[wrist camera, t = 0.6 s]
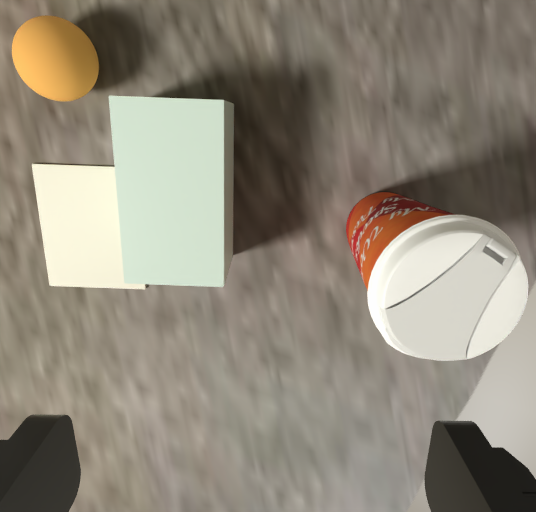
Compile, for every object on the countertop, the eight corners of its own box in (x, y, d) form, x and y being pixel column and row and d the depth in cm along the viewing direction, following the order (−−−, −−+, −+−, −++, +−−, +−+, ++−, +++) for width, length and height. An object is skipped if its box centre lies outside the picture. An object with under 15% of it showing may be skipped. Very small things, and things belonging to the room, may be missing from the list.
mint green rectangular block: (143, 100, 30) (108, 95, 23) (234, 103, 30) (223, 99, 23) (152, 252, 33) (124, 283, 27) (232, 255, 33) (223, 286, 27)
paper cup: (371, 158, 31) (446, 188, 17) (449, 212, 32) (575, 278, 19) (312, 242, 33) (339, 325, 20) (388, 289, 34) (462, 397, 21)
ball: (34, 23, 28) (-14, 4, 23) (107, 26, 28) (73, 7, 23) (44, 101, 30) (1, 98, 25) (113, 103, 30) (83, 101, 25)
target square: (33, 163, 31) (31, 163, 31) (138, 167, 31) (137, 167, 31) (50, 284, 34) (49, 285, 34) (146, 288, 34) (145, 289, 34)
